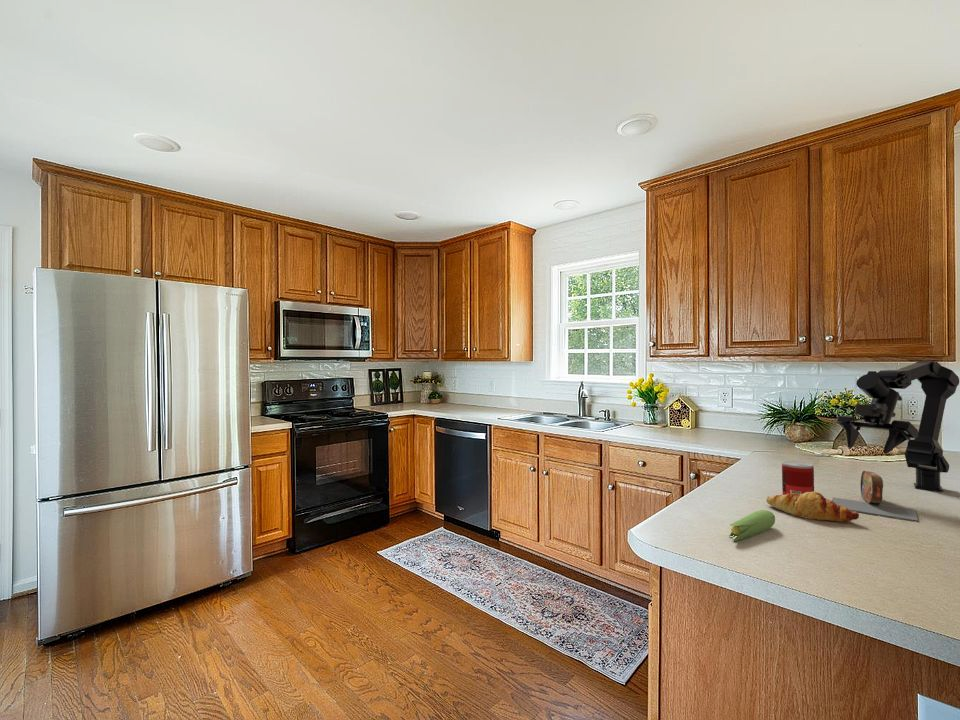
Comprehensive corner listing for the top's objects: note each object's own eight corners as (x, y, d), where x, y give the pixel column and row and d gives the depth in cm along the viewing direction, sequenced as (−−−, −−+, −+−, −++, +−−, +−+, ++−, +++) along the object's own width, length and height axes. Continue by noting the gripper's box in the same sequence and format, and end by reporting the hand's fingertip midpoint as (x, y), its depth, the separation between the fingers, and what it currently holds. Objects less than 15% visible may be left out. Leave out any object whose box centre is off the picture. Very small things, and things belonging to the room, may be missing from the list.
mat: (832, 498, 137) (832, 497, 137) (914, 510, 125) (914, 509, 125) (830, 507, 128) (830, 506, 128) (918, 521, 116) (918, 520, 116)
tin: (859, 495, 140) (859, 468, 141) (872, 496, 139) (872, 469, 139) (870, 506, 127) (870, 476, 128) (885, 508, 126) (884, 477, 126)
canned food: (820, 503, 133) (819, 466, 133) (793, 503, 133) (792, 466, 133) (802, 495, 140) (801, 460, 140) (776, 495, 140) (776, 460, 141)
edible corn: (782, 512, 113) (764, 503, 117) (738, 531, 103) (719, 520, 106) (777, 530, 114) (759, 520, 118) (732, 550, 104) (714, 538, 108)
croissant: (763, 519, 129) (757, 498, 127) (772, 497, 135) (767, 476, 133) (858, 539, 113) (853, 515, 111) (864, 512, 119) (859, 489, 117)
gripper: (835, 391, 145) (818, 433, 142) (906, 394, 128) (889, 442, 125) (853, 408, 149) (838, 450, 145) (926, 413, 131) (910, 461, 128)
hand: (866, 450), depth 136 cm, fingers open, 9 cm apart
